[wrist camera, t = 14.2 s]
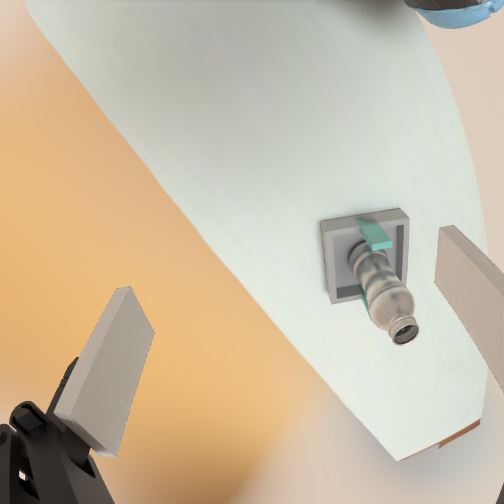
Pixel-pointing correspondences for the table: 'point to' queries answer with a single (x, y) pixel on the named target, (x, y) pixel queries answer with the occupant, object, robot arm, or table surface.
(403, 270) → the tray
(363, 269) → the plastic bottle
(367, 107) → the table surface
